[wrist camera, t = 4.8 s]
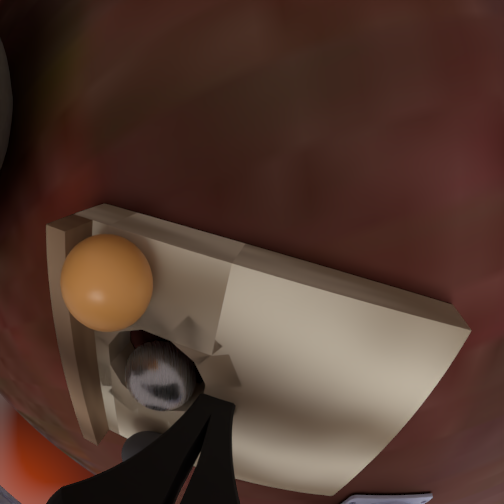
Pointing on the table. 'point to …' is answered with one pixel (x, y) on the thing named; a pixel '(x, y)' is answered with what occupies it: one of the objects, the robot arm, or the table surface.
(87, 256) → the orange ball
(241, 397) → the bearing plate
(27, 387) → the table surface
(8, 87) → the bowl
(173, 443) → the robot arm
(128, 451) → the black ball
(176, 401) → the steel ball
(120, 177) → the table surface
